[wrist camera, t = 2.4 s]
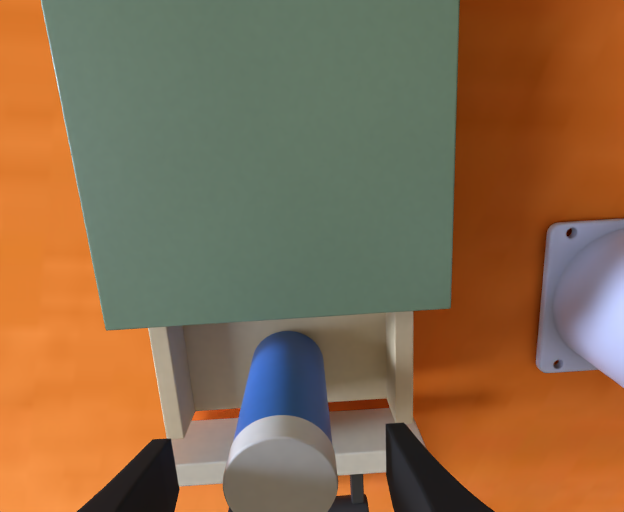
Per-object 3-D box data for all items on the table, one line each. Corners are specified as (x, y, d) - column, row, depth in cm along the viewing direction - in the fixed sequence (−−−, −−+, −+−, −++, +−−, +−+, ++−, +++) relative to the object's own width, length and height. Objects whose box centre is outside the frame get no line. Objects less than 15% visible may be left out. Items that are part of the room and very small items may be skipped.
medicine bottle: (322, 326, 19) (335, 433, 12) (326, 393, 20) (340, 529, 13) (247, 331, 19) (215, 441, 12) (254, 397, 20) (228, 537, 13)
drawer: (409, 488, 23) (425, 541, 20) (190, 503, 23) (172, 559, 20) (409, 169, 19) (431, 172, 16) (138, 185, 19) (106, 192, 15)
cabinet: (417, 272, 21) (451, 309, 16) (150, 289, 21) (105, 331, 16) (419, -58, 17) (464, -138, 12) (96, -41, 17) (16, -115, 12)
